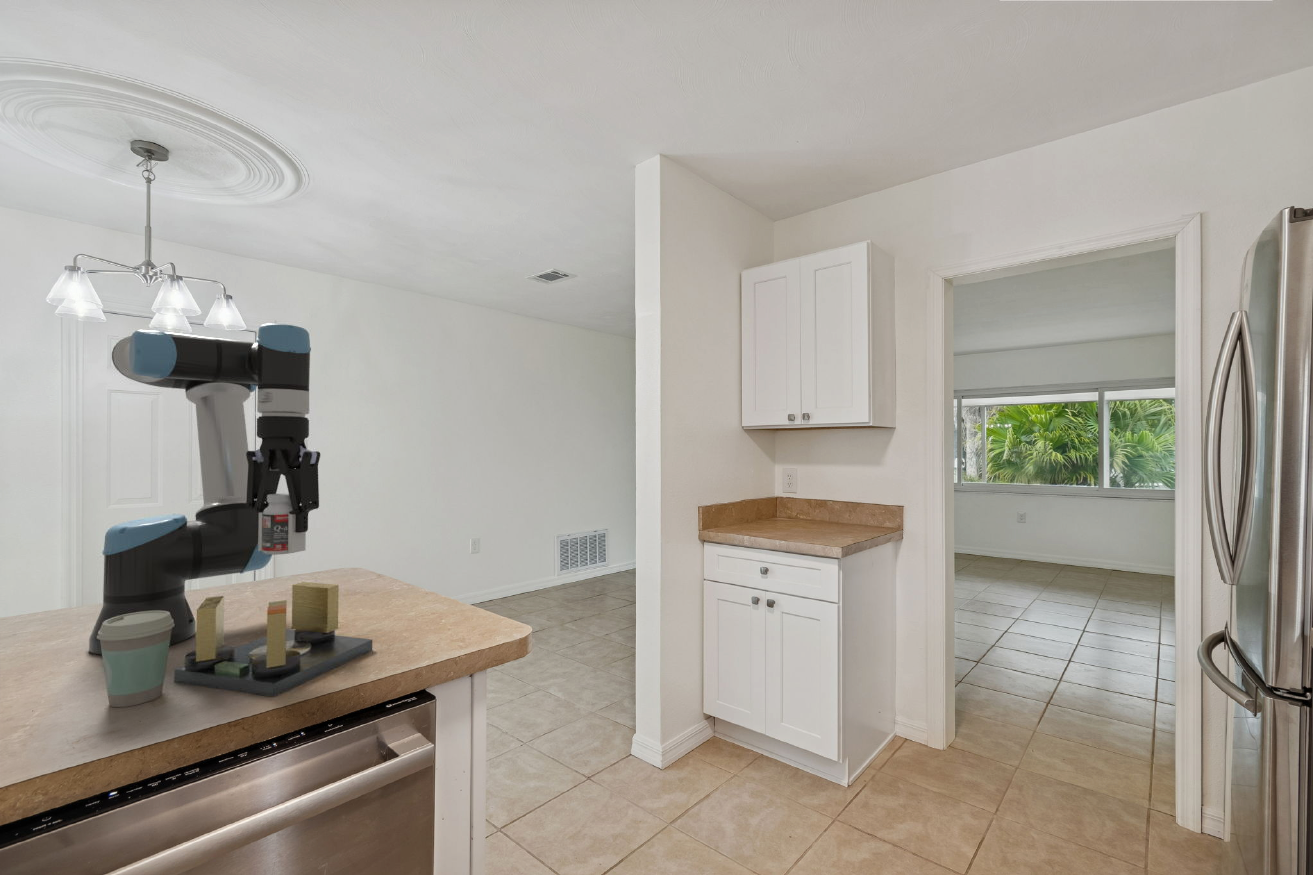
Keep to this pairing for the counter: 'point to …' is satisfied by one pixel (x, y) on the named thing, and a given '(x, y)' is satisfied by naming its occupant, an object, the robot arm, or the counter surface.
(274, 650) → the tan bar on disc
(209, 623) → the foot screw
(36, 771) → the counter surface
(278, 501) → the pill bottle
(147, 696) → the coffee cup
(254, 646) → the plate
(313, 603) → the foot screw
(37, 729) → the counter surface
